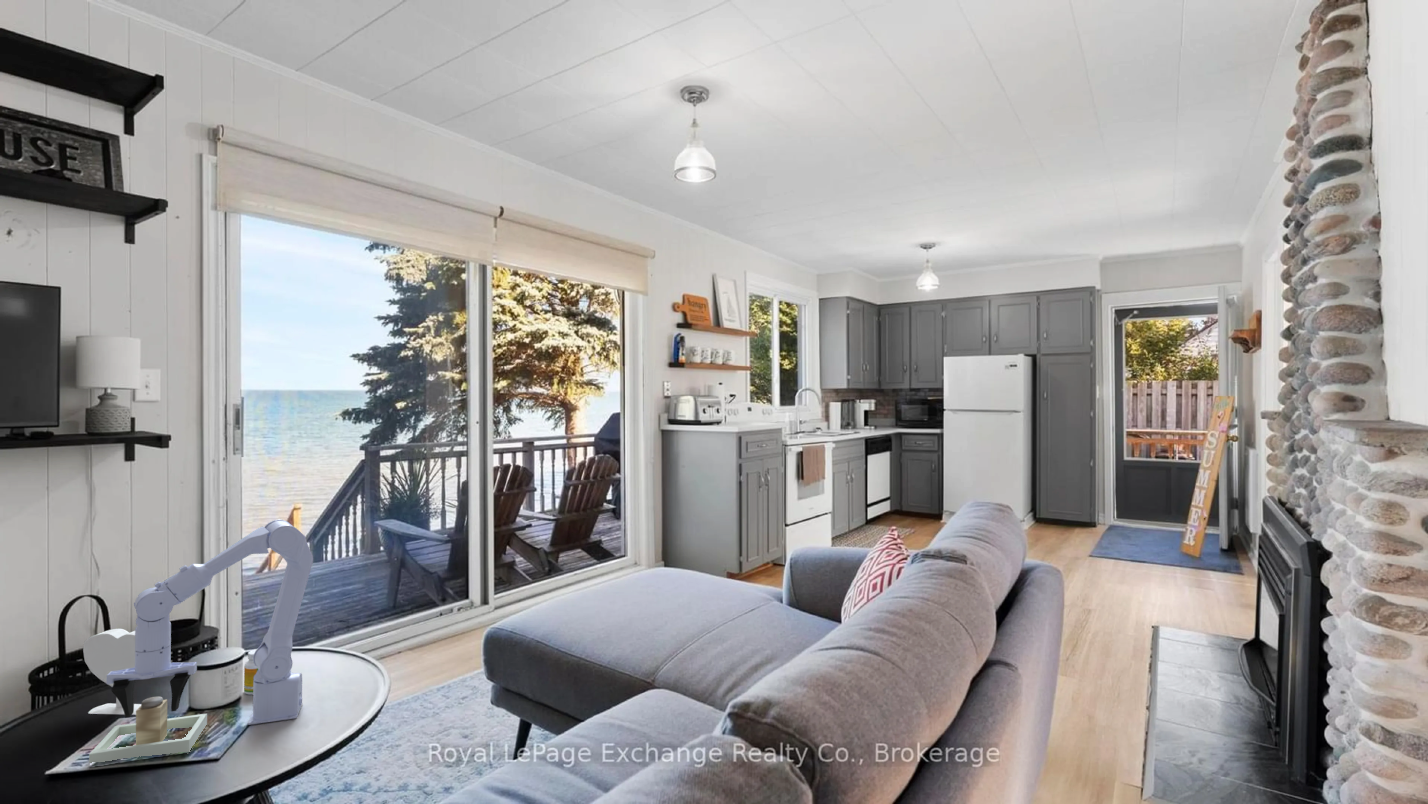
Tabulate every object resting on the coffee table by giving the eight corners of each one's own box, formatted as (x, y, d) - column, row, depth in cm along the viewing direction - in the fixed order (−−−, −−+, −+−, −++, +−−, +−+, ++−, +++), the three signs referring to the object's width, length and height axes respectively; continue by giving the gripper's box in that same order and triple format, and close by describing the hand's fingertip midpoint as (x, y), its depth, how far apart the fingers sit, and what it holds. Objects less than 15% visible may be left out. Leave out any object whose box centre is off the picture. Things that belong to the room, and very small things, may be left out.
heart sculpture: (165, 704, 158) (166, 628, 158) (147, 714, 153) (148, 635, 153) (99, 703, 158) (100, 626, 158) (79, 713, 153) (80, 634, 153)
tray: (206, 725, 149) (207, 713, 149) (189, 752, 138) (189, 739, 138) (115, 738, 143) (115, 725, 143) (88, 768, 132) (89, 753, 132)
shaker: (166, 736, 143) (167, 694, 143) (159, 745, 139) (160, 702, 139) (143, 740, 141) (143, 697, 141) (135, 749, 138) (136, 705, 138)
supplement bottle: (256, 696, 164) (257, 656, 164) (238, 693, 165) (239, 654, 165) (275, 686, 169) (276, 648, 169) (257, 684, 170) (258, 646, 170)
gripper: (99, 658, 134) (99, 726, 134) (189, 649, 139) (188, 714, 139) (115, 646, 140) (114, 711, 140) (200, 637, 146) (199, 700, 146)
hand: (152, 712), depth 140 cm, fingers open, 7 cm apart
